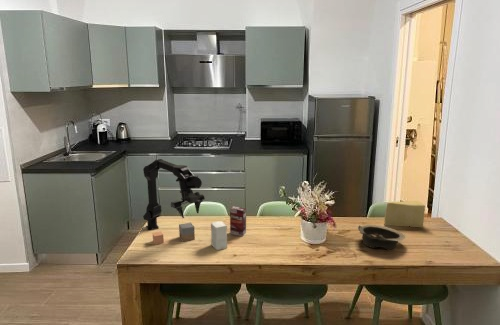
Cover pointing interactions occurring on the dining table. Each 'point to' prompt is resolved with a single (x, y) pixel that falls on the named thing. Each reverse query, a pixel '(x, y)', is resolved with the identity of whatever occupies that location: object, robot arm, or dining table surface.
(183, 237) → the tower base
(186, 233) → the tower top
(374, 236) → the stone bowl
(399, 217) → the cheese
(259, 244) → the dining table surface
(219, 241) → the small box
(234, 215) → the supplement box
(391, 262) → the dining table surface
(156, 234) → the terracotta cube
